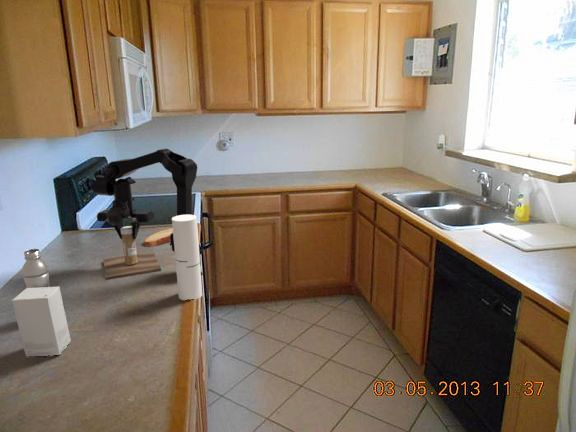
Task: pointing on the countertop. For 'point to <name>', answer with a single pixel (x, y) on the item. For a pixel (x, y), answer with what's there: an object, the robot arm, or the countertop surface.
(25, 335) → the skincare box
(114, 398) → the countertop surface
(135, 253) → the sprinkles bottle
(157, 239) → the slice of bread
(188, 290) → the cylindrical container
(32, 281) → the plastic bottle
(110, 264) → the walnut board
